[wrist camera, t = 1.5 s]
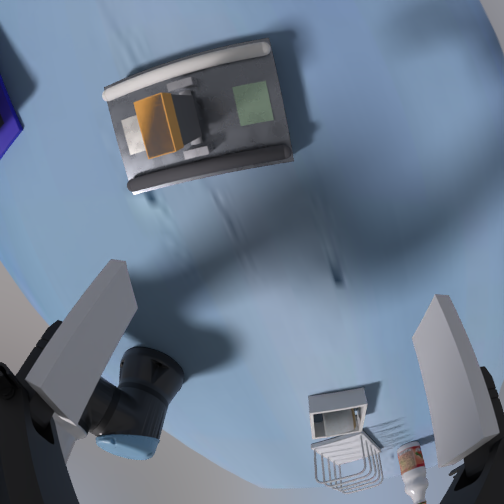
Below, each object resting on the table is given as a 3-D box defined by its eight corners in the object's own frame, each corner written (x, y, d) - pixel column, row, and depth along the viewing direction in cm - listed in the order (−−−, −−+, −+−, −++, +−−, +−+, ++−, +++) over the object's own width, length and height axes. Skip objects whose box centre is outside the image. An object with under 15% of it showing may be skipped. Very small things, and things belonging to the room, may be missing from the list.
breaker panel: (144, 186, 42) (125, 200, 36) (117, 87, 35) (94, 87, 29) (291, 155, 39) (295, 165, 33) (269, 44, 31) (268, 33, 26)
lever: (188, 145, 35) (150, 168, 23) (176, 94, 31) (131, 93, 20) (208, 140, 34) (178, 160, 23) (196, 88, 31) (159, 83, 20)
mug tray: (311, 424, 71) (312, 439, 67) (308, 396, 64) (309, 413, 60) (359, 416, 69) (361, 431, 65) (363, 387, 62) (367, 403, 58)
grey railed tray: (132, 190, 38) (127, 194, 36) (105, 91, 31) (98, 91, 30) (292, 156, 35) (293, 159, 33) (269, 42, 28) (269, 39, 27)
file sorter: (310, 443, 78) (312, 485, 65) (361, 427, 73) (368, 471, 59) (337, 461, 88) (340, 496, 74) (380, 448, 82) (386, 483, 69)
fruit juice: (399, 444, 81) (411, 507, 57) (421, 438, 80) (436, 499, 56) (394, 453, 86) (404, 511, 61) (415, 447, 85) (427, 504, 60)
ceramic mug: (352, 412, 68) (356, 435, 61) (322, 418, 69) (325, 441, 63) (352, 392, 63) (357, 417, 57) (319, 398, 65) (322, 423, 58)
